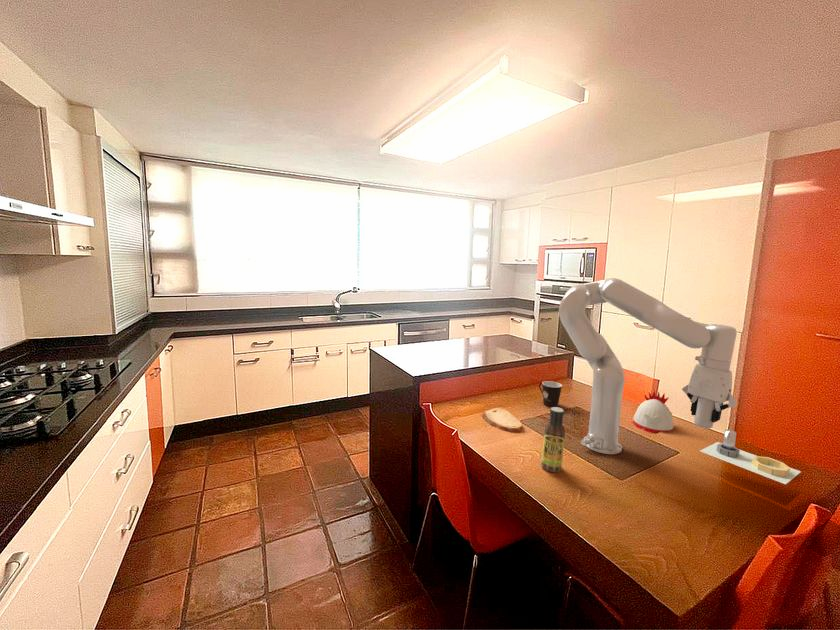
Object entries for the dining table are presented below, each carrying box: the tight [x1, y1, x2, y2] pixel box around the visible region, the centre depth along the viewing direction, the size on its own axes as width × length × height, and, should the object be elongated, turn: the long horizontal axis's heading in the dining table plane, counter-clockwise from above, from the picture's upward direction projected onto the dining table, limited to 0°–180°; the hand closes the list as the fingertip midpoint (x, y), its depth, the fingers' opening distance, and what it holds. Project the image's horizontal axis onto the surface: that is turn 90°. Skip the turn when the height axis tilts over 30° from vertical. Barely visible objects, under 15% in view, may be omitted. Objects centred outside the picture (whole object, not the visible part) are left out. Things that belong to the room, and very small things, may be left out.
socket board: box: [699, 441, 802, 485], centre depth 120 cm, size 14×22×3 cm, turn 30°
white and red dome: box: [632, 390, 674, 434], centre depth 147 cm, size 14×14×15 cm
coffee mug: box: [538, 380, 563, 408], centre depth 170 cm, size 12×9×10 cm
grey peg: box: [722, 429, 737, 451], centre depth 124 cm, size 3×3×8 cm
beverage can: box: [693, 397, 715, 430], centre depth 116 cm, size 5×5×12 cm
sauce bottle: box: [541, 407, 566, 473], centre depth 114 cm, size 6×6×20 cm
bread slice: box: [482, 406, 525, 434], centre depth 150 cm, size 18×18×4 cm
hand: (704, 417), depth 117 cm, fingers closed on beverage can, 4 cm apart
